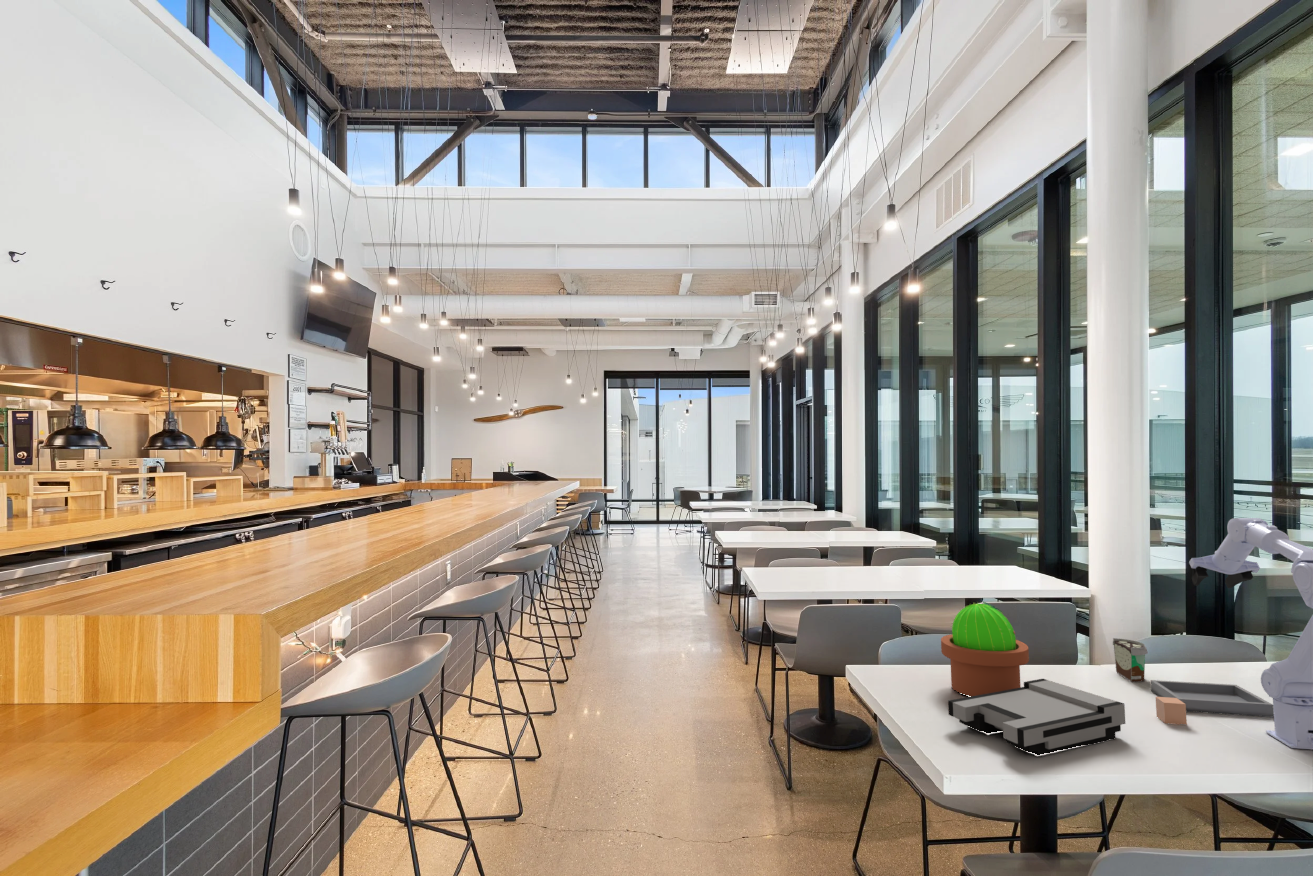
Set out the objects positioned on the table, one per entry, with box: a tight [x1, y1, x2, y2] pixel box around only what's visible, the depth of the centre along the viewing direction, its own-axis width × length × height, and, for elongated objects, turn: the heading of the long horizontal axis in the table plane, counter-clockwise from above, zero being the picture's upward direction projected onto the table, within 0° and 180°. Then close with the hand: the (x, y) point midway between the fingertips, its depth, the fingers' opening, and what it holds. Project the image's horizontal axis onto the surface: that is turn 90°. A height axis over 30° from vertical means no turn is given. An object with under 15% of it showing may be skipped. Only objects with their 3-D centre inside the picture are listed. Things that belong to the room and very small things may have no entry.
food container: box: [1112, 637, 1148, 683], centre depth 199 cm, size 12×6×10 cm, turn 168°
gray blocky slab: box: [947, 678, 1126, 755], centre depth 158 cm, size 21×32×8 cm, turn 112°
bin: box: [1150, 679, 1274, 718], centre depth 176 cm, size 16×20×3 cm
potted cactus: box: [940, 601, 1030, 696], centre depth 189 cm, size 22×22×25 cm
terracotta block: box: [1155, 696, 1188, 726], centre depth 165 cm, size 4×4×5 cm
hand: (1211, 583), depth 181 cm, fingers open, 7 cm apart
